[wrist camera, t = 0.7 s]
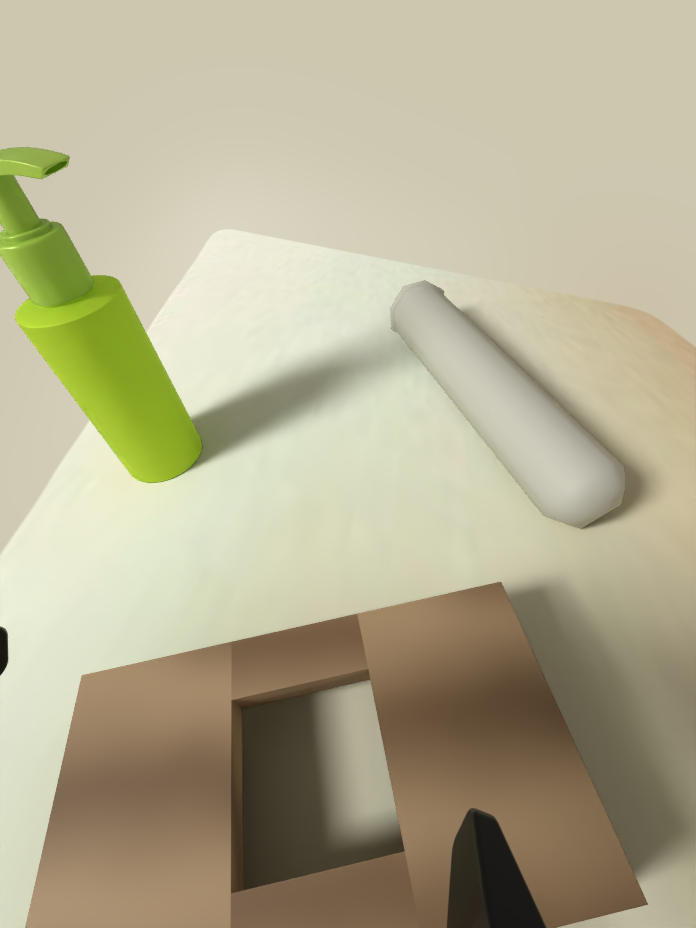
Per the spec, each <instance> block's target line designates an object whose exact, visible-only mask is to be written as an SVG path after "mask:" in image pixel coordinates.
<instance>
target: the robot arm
mask: <svg viewBox="0 0 696 928" xmlns="http://www.w3.org/2000/svg"><path fill="white" fill-rule="evenodd" d="M7 663H8V633H7V631H6V629H5V628H3V627H1V626H0V675H1V674H2V673H3V671H4V670H5V668H6V666H7ZM447 928H547V927H546V925H545V923H544V921H543V919H542V916H541V914H540V912H539V910H538V908H537V905H536V903H535V901H534V899H533V897H532V895H531V892H530V890H529V888H528V886H527V884H526V882H525V879H524V877H523V875H522V873H521V871H520V869H519V866H518V864H517V862H516V860H515V858H514V855H513V853H512V851H511V849H510V847H509V845H508V842H507V840H506V838H505V836H504V834H503V832H502V829H501V827H500V825H499V823H498V821H497V820H496V818H495V817H494V816H493V815H491V814H489V813H486V812H483V811H481V810H478V809H476V808H470V809H469V810H468V811H467V813H466V815H465V817H464V820H463V822H462V824H461V826H460V828H459V830H458V832H457V834H456V836H455V839H454V843H453V847H452V855H451V870H450V885H449V900H448V915H447Z"/></svg>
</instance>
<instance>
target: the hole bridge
mask: <svg viewBox="0 0 696 928" xmlns="http://www.w3.org/2000/svg"><path fill="white" fill-rule="evenodd" d="M365 680H371V685H372V690H373V695H374V700H375V705H376V710H377V715H378V720H379V725H380V730H381V735H382V740H383V745H384V750H385V755H386V760H387V765H388V770H389V775H390V780H391V785H392V790H393V795H394V800H395V805H396V810H397V815H398V820H399V825H400V830H401V835H402V840H403V845H404V850H405V851H404V852H400V853H395V854H391V855H387V856H383V857H379V858H375V859H371V860H367V861H362V862H358V863H354V864H350V865H346V866H342V867H338V868H334V869H330V870H325V871H321V872H317V873H313V874H309V875H305V876H301V877H297V878H292V879H288V880H284V881H280V882H276V883H272V884H268V885H264V886H259V887H255V888H251V889H247V890H244V872H243V779H242V709H243V708H247V707H252V706H256V705H260V704H265V703H269V702H273V701H278V700H282V699H286V698H291V697H295V696H300V695H304V694H308V693H313V692H317V691H321V690H326V689H330V688H335V687H339V686H343V685H348V684H352V683H356V682H361V681H365ZM470 808H476V809H478V810H481V811H483V812H486V813H489V814H491V815H493V816H494V817H495V818H496V820H497V821H498V823H499V825H500V827H501V829H502V832H503V834H504V836H505V838H506V840H507V842H508V845H509V847H510V849H511V851H512V853H513V855H514V858H515V860H516V862H517V864H518V866H519V869H520V871H521V873H522V875H523V877H524V879H525V882H526V884H527V886H528V888H529V890H530V892H531V895H532V897H533V899H534V901H535V903H536V905H537V908H538V910H539V912H540V914H541V916H542V919H543V921H544V923H545V925H546V927H547V928H556V927H560V926H564V925H568V924H572V923H576V922H580V921H584V920H588V919H592V918H596V917H600V916H604V915H608V914H612V913H616V912H620V911H624V910H628V909H632V908H636V907H640V906H644V905H648V903H647V901H646V899H645V897H644V895H643V892H642V890H641V888H640V886H639V884H638V881H637V879H636V877H635V875H634V873H633V870H632V868H631V866H630V864H629V862H628V859H627V857H626V855H625V853H624V851H623V848H622V846H621V844H620V842H619V840H618V837H617V835H616V833H615V831H614V829H613V826H612V824H611V822H610V820H609V818H608V816H607V813H606V811H605V809H604V807H603V805H602V802H601V800H600V798H599V796H598V794H597V791H596V789H595V787H594V785H593V783H592V780H591V778H590V776H589V774H588V772H587V769H586V767H585V765H584V763H583V761H582V758H581V756H580V754H579V752H578V750H577V747H576V745H575V743H574V741H573V739H572V736H571V734H570V732H569V730H568V728H567V725H566V723H565V721H564V719H563V717H562V715H561V712H560V710H559V708H558V706H557V704H556V701H555V699H554V697H553V695H552V693H551V690H550V688H549V686H548V684H547V682H546V679H545V677H544V675H543V673H542V671H541V668H540V666H539V664H538V662H537V660H536V657H535V655H534V653H533V651H532V649H531V646H530V644H529V642H528V640H527V638H526V635H525V633H524V631H523V629H522V627H521V625H520V622H519V620H518V618H517V616H516V614H515V611H514V609H513V607H512V605H511V603H510V600H509V598H508V596H507V594H506V592H505V589H504V587H503V585H502V583H501V582H498V583H493V584H489V585H484V586H480V587H475V588H471V589H466V590H462V591H457V592H453V593H449V594H444V595H440V596H435V597H431V598H426V599H422V600H417V601H413V602H408V603H404V604H399V605H395V606H390V607H386V608H381V609H377V610H372V611H368V612H364V613H359V614H355V615H350V616H346V617H341V618H337V619H332V620H328V621H323V622H319V623H314V624H310V625H305V626H301V627H296V628H292V629H287V630H283V631H278V632H274V633H270V634H265V635H261V636H256V637H252V638H247V639H243V640H238V641H234V642H229V643H225V644H220V645H216V646H211V647H207V648H202V649H198V650H193V651H189V652H185V653H180V654H176V655H171V656H167V657H162V658H158V659H153V660H149V661H144V662H140V663H135V664H131V665H126V666H122V667H117V668H113V669H108V670H104V671H100V672H95V673H91V674H86V675H82V677H81V681H80V686H79V690H78V695H77V699H76V704H75V708H74V712H73V717H72V721H71V726H70V730H69V735H68V739H67V744H66V748H65V753H64V757H63V762H62V766H61V770H60V775H59V779H58V784H57V788H56V793H55V797H54V802H53V806H52V811H51V815H50V820H49V824H48V829H47V833H46V837H45V842H44V846H43V851H42V855H41V860H40V864H39V869H38V873H37V878H36V882H35V887H34V891H33V896H32V900H31V904H30V909H29V913H28V918H27V922H26V927H25V928H447V915H448V900H449V885H450V870H451V855H452V847H453V843H454V839H455V836H456V834H457V832H458V830H459V828H460V826H461V824H462V822H463V820H464V817H465V815H466V813H467V811H468V810H469V809H470Z"/></svg>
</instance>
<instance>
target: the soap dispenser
mask: <svg viewBox="0 0 696 928" xmlns="http://www.w3.org/2000/svg"><path fill="white" fill-rule="evenodd" d="M68 163H69V156H68V155H65V154H62V153H58V152H54V151H50V150H45V149H38V148H29V147H17V148H8V149H2V150H0V224H1V225H2V227H3V228H4V230H3V231H2V232H1V233H0V256H1V257H2V258H3V260H4V262H5V263H6V265H7V266H8V267H9V269H10V270H11V272H12V273H13V274H14V276H15V278H16V279H17V280H18V282H19V283H20V285H21V286H22V288H23V289H24V290H25V292H26V293H27V295H28V296H29V299H28V300H26V301H25V302H24V303H23V304H22V305H21V306H20V307H19V308H18V310H17V311H16V314H15V320H16V322H17V323H18V325H19V326H20V327H21V328H22V330H23V331H24V333H25V334H26V335H27V337H28V338H29V339H30V341H31V342H32V343H33V345H34V346H35V347H36V348H37V350H38V351H39V353H40V354H41V355H42V357H43V358H44V359H45V361H46V362H47V363H48V365H49V366H50V367H51V369H52V370H53V371H54V373H55V374H56V375H57V377H58V378H59V379H60V381H61V382H62V383H63V385H64V386H65V387H66V389H67V390H68V391H69V393H70V394H71V395H72V397H73V398H74V399H75V401H76V402H77V403H78V405H79V406H80V407H81V408H82V410H83V411H84V413H85V414H86V415H87V417H88V418H89V419H90V421H91V422H92V423H93V425H94V426H95V427H96V429H97V430H98V431H99V433H100V434H101V435H102V437H103V438H104V439H105V441H106V442H107V443H108V445H109V446H110V447H111V449H112V450H113V451H114V453H115V454H116V455H117V457H118V458H119V459H120V461H121V462H122V463H123V465H124V466H125V467H126V469H127V470H128V471H129V473H130V474H131V475H132V476H133V477H134V478H135V479H137V480H139V481H142V482H147V483H155V482H162V481H166V480H169V479H171V478H174V477H176V476H178V475H180V474H181V473H183V472H184V471H186V470H187V469H188V468H190V467H191V466H192V465H193V464H194V463H195V461H196V460H197V459H198V457H199V455H200V453H201V450H202V441H201V438H200V436H199V434H198V432H197V430H196V428H195V426H194V425H193V423H192V421H191V419H190V417H189V415H188V413H187V411H186V409H185V407H184V405H183V403H182V401H181V399H180V397H179V395H178V394H177V392H176V390H175V388H174V386H173V384H172V382H171V380H170V378H169V376H168V374H167V372H166V370H165V368H164V366H163V365H162V363H161V361H160V359H159V357H158V355H157V353H156V351H155V349H154V347H153V345H152V343H151V341H150V339H149V337H148V335H147V334H146V332H145V330H144V328H143V326H142V324H141V322H140V320H139V318H138V316H137V315H136V312H135V311H134V308H133V306H132V304H131V303H130V301H129V299H128V297H127V295H126V293H125V291H124V289H123V287H122V285H121V283H120V282H119V281H118V280H117V279H116V278H114V277H111V276H105V275H93V276H91V275H90V273H89V272H88V269H87V268H86V266H85V264H84V262H83V261H82V259H81V257H80V255H79V253H78V252H77V250H76V248H75V246H74V245H73V243H72V241H71V239H70V237H69V236H68V234H67V232H66V230H65V229H64V227H63V226H62V224H60V223H58V222H50V221H49V220H47V219H39V218H38V216H37V214H36V213H35V211H34V209H33V207H32V206H31V204H30V202H29V201H28V199H27V197H26V195H25V194H24V192H23V190H22V189H21V187H20V185H19V184H18V182H17V180H16V179H15V177H14V175H20V176H26V177H31V178H37V179H43V178H45V177H47V176H49V175H51V174H53V173H55V172H57V171H59V170H61V169H63V168H65V167H67V166H68Z"/></svg>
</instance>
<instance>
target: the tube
mask: <svg viewBox="0 0 696 928" xmlns="http://www.w3.org/2000/svg"><path fill="white" fill-rule="evenodd" d="M390 312H391V329H392V330H393V331H395V332H397V333H399V335H400V336H401V337H402V338H403V340H404V341H405V342H406V343H407V345H408V346H409V347H410V348H411V350H412V351H413V352H414V353H415V355H416V356H417V357H418V358H419V360H420V361H421V362H422V363H423V365H424V366H425V367H426V368H427V370H428V371H429V372H430V374H431V375H432V376H433V377H434V379H435V380H436V381H437V382H438V384H439V385H440V386H441V387H442V389H443V390H444V391H445V392H446V394H447V395H448V396H449V397H450V399H451V400H452V401H453V402H454V404H455V405H456V406H457V407H458V409H459V410H460V411H461V413H462V414H463V415H464V416H465V418H466V419H467V420H468V421H469V423H470V424H471V425H472V426H473V428H474V429H475V430H476V431H477V433H478V434H479V435H480V436H481V438H482V439H483V440H484V441H485V443H486V444H487V445H488V446H489V448H490V449H491V450H492V452H493V453H494V454H495V455H496V457H497V458H498V459H499V460H500V462H501V463H502V464H503V465H504V467H505V468H506V469H507V470H508V472H509V473H510V474H511V475H512V477H513V478H514V479H515V480H516V482H517V483H518V484H519V486H520V487H521V488H522V489H523V491H524V492H525V493H526V494H527V496H528V497H529V498H530V499H531V501H532V502H533V503H534V504H535V506H536V507H537V508H538V509H539V511H540V512H541V513H542V514H543V516H546V517H548V518H551V519H554V520H557V521H560V522H563V523H565V524H568V525H571V526H574V527H577V528H580V529H581V528H583V527H585V526H586V525H588V524H590V523H591V522H593V521H595V520H596V519H598V518H600V517H601V516H603V515H604V514H606V513H608V512H610V511H612V510H613V509H615V508H617V507H619V506H620V505H621V504H622V500H623V495H624V491H625V487H626V482H625V471H624V466H623V465H622V464H621V463H620V462H619V461H618V460H617V459H616V458H615V457H614V456H612V455H611V454H610V453H609V452H608V451H607V450H606V449H605V448H604V447H603V446H602V445H601V444H600V443H599V442H598V441H597V440H596V439H595V438H594V437H592V436H591V435H590V434H589V433H588V432H587V431H586V430H585V429H584V428H583V427H582V426H581V425H580V424H579V423H578V422H577V421H576V420H575V419H574V418H573V417H571V416H570V415H569V414H568V413H567V412H566V411H565V410H564V409H563V408H562V407H561V406H560V405H559V404H558V403H557V402H556V401H555V400H554V399H553V398H551V397H550V396H549V395H548V394H547V393H546V392H545V391H544V390H543V389H542V388H541V387H540V386H539V385H538V384H537V383H536V382H535V381H534V380H533V379H531V378H530V377H529V376H528V375H527V374H526V373H525V372H524V371H523V370H522V369H521V368H520V367H519V366H518V365H517V364H516V363H515V362H514V361H513V360H511V359H510V358H509V357H508V356H507V355H506V354H505V353H504V352H503V351H502V350H501V349H500V348H499V347H498V346H497V345H496V344H495V343H494V342H493V341H491V340H490V339H489V338H488V337H487V336H486V335H485V334H484V333H483V332H482V331H481V330H480V329H479V328H478V327H477V326H476V325H475V324H474V323H473V322H472V321H470V320H469V319H468V318H467V317H466V316H465V315H464V314H463V313H462V312H461V311H460V310H459V309H458V308H457V307H456V306H455V305H454V304H453V303H452V302H450V301H449V300H448V299H447V298H446V297H445V296H444V291H443V290H442V289H441V288H439V287H437V286H435V285H433V284H431V283H429V282H427V281H425V280H424V281H421V282H417V283H413V284H410V285H406V286H403V287H402V289H401V291H400V292H399V294H398V296H397V297H396V299H395V301H394V302H393V304H392V306H391V307H390Z"/></svg>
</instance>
